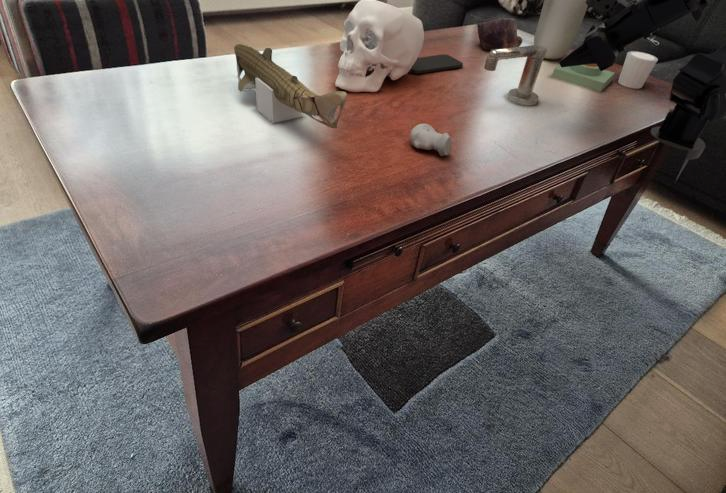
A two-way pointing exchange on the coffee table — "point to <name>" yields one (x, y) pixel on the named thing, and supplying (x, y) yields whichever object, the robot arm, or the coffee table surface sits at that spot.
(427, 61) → the phone
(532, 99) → the faucet
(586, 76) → the push button box
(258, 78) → the wood carving
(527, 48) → the spout
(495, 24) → the rock
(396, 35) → the skull planter
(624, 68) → the shot glass
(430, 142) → the smooth white sculpture
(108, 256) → the coffee table surface
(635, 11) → the robot arm
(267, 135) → the coffee table surface
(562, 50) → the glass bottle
